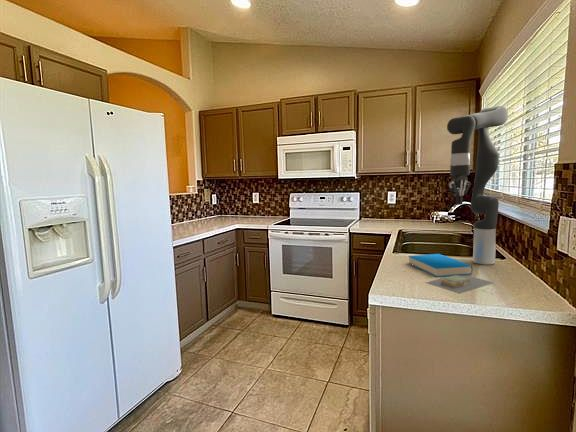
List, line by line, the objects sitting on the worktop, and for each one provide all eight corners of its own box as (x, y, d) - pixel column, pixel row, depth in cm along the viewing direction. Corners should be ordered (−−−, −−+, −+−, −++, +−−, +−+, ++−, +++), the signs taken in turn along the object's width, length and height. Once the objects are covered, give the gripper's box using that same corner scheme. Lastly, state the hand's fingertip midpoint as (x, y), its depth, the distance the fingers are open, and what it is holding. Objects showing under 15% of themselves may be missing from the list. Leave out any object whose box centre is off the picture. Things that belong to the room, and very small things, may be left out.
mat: (459, 274, 144) (459, 273, 144) (494, 284, 131) (494, 282, 131) (425, 284, 134) (425, 282, 134) (459, 295, 121) (459, 293, 121)
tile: (455, 274, 136) (441, 278, 132) (469, 278, 131) (455, 282, 126) (455, 279, 136) (441, 283, 132) (469, 283, 131) (454, 288, 127)
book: (436, 268, 140) (408, 255, 165) (436, 277, 141) (408, 263, 165) (473, 265, 142) (439, 252, 167) (473, 274, 143) (439, 261, 167)
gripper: (461, 164, 147) (460, 202, 149) (442, 165, 141) (441, 205, 143) (478, 163, 140) (476, 203, 143) (458, 164, 134) (457, 206, 136)
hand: (458, 204), depth 143 cm, fingers closed
